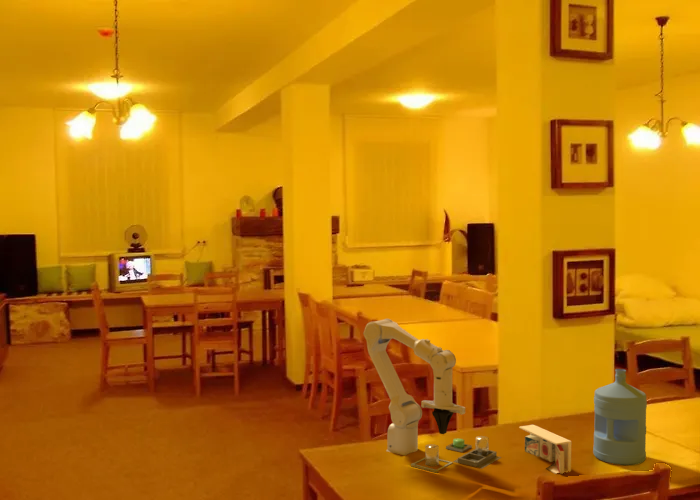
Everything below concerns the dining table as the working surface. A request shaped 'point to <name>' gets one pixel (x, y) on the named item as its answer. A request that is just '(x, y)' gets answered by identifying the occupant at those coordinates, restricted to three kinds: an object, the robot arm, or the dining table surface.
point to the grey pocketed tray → (477, 459)
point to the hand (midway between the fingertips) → (442, 433)
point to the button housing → (459, 448)
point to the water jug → (620, 422)
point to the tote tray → (429, 468)
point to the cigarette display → (549, 448)
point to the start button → (458, 443)
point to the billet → (432, 455)
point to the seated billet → (482, 445)
